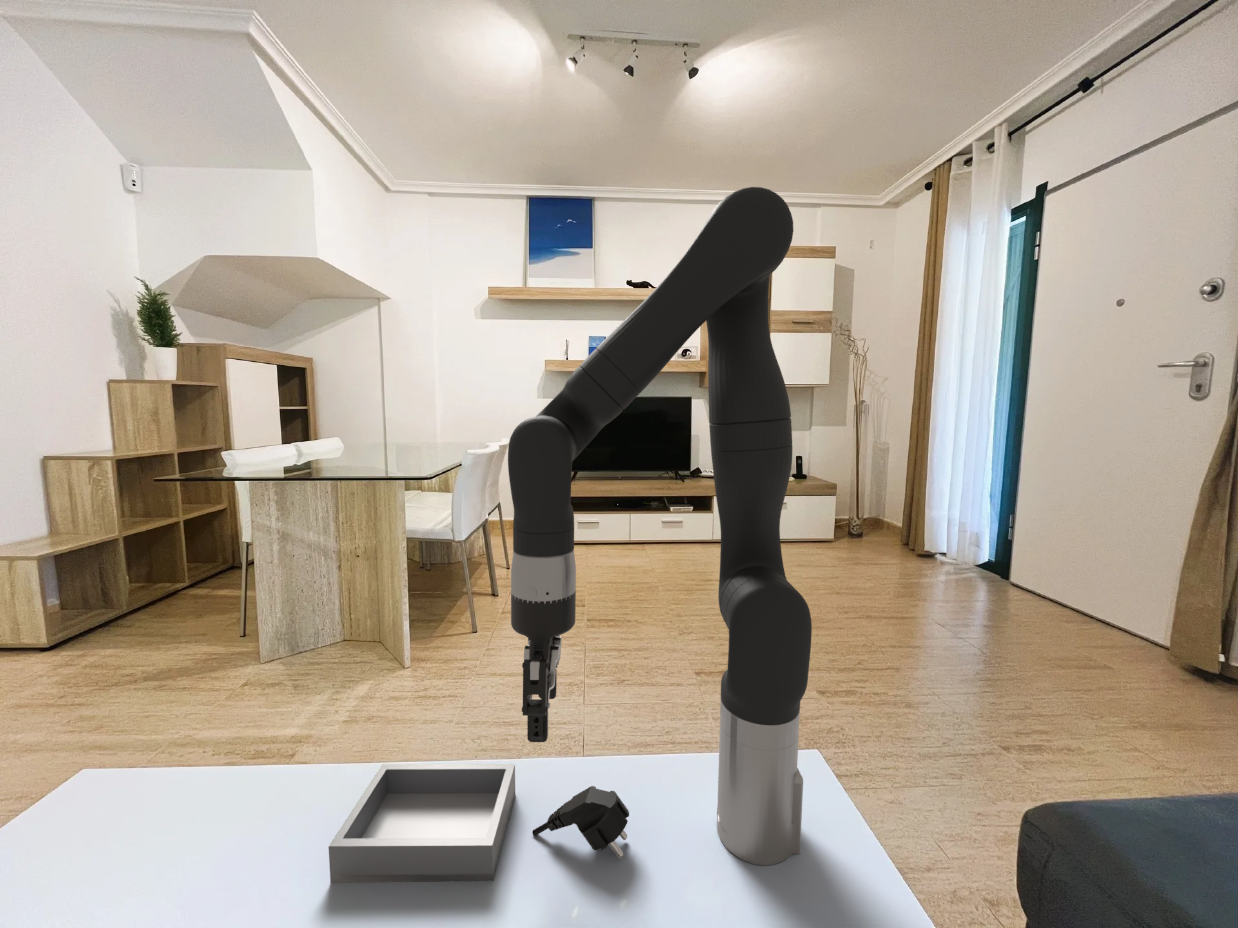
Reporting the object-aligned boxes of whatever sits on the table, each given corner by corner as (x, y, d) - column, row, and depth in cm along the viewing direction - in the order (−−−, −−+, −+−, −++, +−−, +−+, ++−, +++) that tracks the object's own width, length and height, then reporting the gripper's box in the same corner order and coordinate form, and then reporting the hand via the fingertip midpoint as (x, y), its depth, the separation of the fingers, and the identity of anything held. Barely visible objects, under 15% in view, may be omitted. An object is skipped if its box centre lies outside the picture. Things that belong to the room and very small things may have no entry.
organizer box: (515, 794, 69) (514, 763, 69) (493, 882, 56) (492, 845, 56) (383, 794, 69) (382, 763, 68) (330, 883, 56) (328, 846, 55)
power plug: (538, 809, 65) (609, 767, 62) (573, 858, 65) (646, 818, 62) (521, 846, 60) (598, 802, 57) (558, 899, 59) (638, 858, 57)
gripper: (570, 611, 52) (569, 758, 53) (579, 568, 66) (578, 685, 68) (497, 610, 52) (498, 757, 53) (522, 567, 66) (522, 685, 68)
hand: (543, 717), depth 61 cm, fingers open, 8 cm apart
